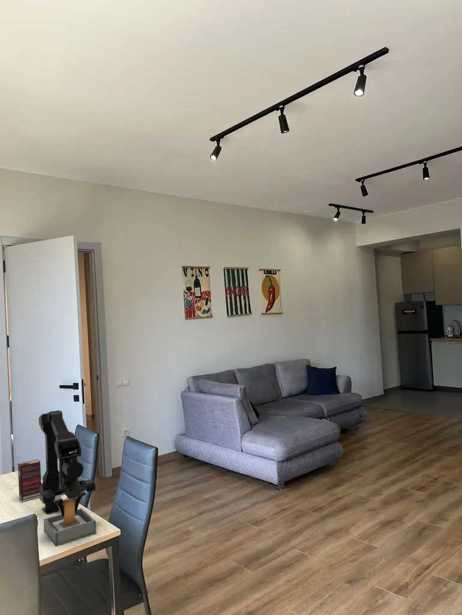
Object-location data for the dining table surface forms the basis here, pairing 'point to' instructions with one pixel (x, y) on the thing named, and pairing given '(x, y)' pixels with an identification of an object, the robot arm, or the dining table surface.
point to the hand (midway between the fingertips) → (69, 514)
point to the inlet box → (69, 528)
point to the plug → (69, 511)
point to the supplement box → (29, 480)
